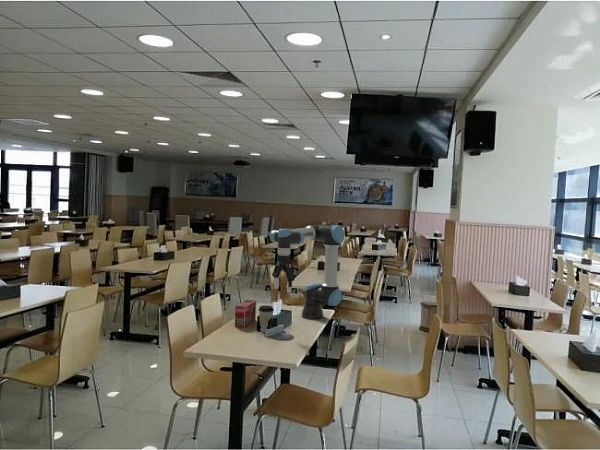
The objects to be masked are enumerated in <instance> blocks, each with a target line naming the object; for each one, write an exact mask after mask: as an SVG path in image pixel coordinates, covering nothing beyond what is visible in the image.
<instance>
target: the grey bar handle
mask: <svg viewBox="0 0 600 450" xmlns="http://www.w3.org/2000/svg"><path fill="white" fill-rule="evenodd" d="M277 326H278V327H277ZM277 326H274V327H271V328H270V329H267V330H266V333H265V334H264V335H263V337H265V338H271V336H272V337H273V335H275V334H281V333H285V332H286V330H284V329H285V328H284V327H285V326H284V324H280V325H277Z"/></svg>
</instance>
